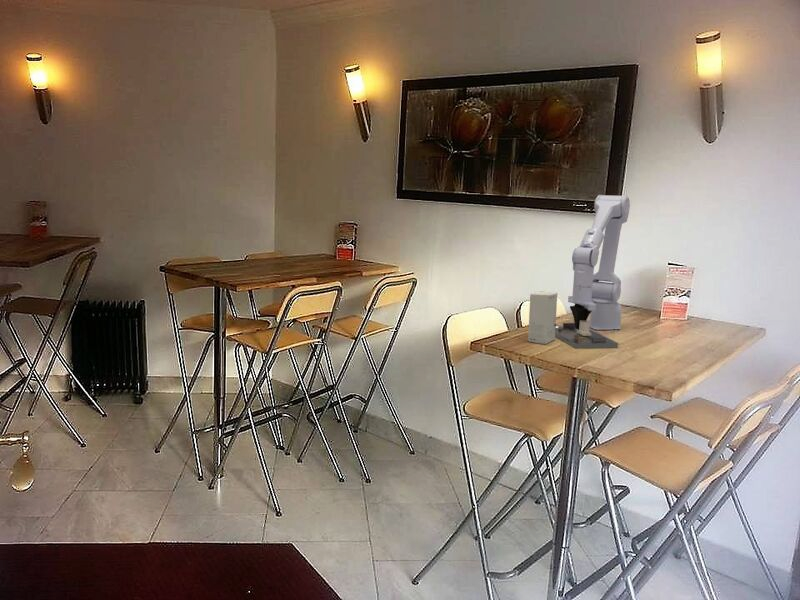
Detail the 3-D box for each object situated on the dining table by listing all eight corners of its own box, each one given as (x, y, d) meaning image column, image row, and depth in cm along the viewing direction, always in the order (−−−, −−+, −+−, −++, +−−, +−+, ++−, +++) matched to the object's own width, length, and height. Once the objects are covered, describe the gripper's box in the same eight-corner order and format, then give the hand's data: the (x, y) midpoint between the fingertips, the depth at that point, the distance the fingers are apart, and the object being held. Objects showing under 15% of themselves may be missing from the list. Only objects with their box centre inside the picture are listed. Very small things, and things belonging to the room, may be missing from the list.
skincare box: (545, 345, 176) (549, 295, 173) (526, 341, 179) (529, 293, 176) (555, 339, 183) (558, 291, 180) (536, 336, 186) (539, 289, 183)
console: (582, 330, 196) (583, 322, 195) (617, 347, 174) (618, 338, 174) (545, 331, 193) (545, 322, 193) (576, 348, 172) (576, 338, 172)
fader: (584, 332, 186) (585, 319, 185) (591, 335, 181) (592, 322, 181) (576, 332, 185) (577, 319, 185) (583, 335, 181) (584, 322, 180)
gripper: (560, 282, 190) (557, 324, 192) (581, 289, 176) (578, 334, 178) (581, 282, 191) (577, 323, 194) (603, 289, 177) (599, 334, 180)
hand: (579, 329), depth 186 cm, fingers closed
